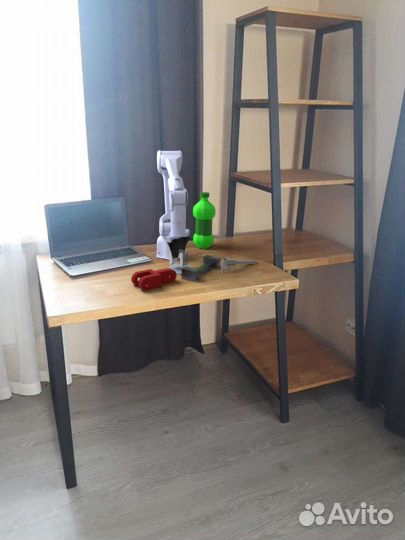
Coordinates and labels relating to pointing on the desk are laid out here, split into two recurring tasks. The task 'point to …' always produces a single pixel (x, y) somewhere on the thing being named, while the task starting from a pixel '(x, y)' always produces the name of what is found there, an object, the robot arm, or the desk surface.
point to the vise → (200, 268)
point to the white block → (181, 254)
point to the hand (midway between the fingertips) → (177, 256)
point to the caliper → (233, 262)
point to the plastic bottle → (203, 222)
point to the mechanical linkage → (153, 278)
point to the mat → (177, 268)
